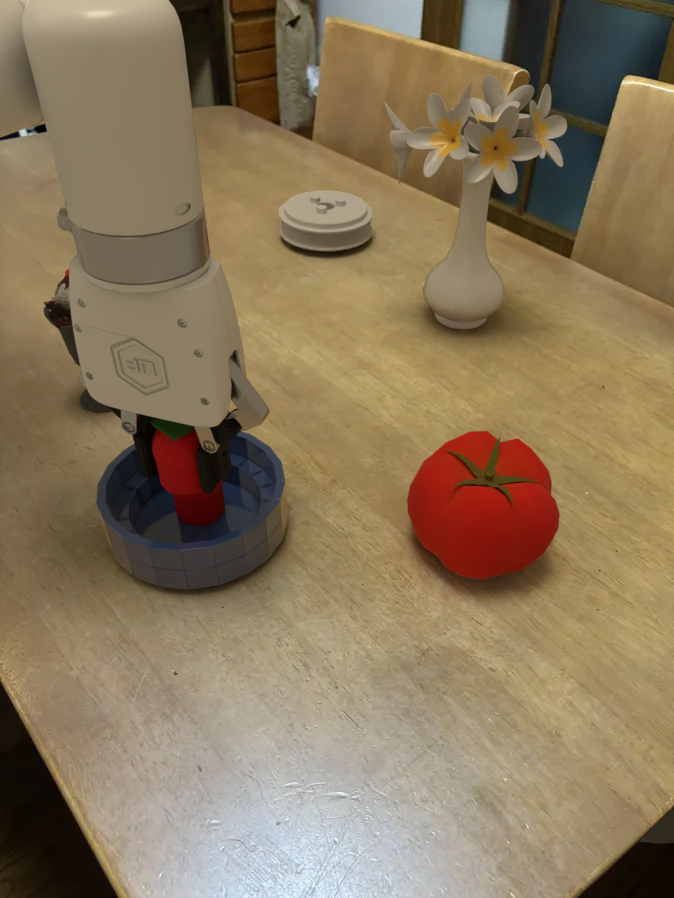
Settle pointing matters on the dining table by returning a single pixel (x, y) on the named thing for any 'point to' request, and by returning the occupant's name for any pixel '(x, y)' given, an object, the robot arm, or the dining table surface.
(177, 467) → the strawberry
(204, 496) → the strawberry
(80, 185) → the robot arm
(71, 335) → the sundae
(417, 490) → the tomato
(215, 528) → the bowl
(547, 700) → the dining table surface
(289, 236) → the lid
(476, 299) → the flower vase
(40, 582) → the dining table surface
